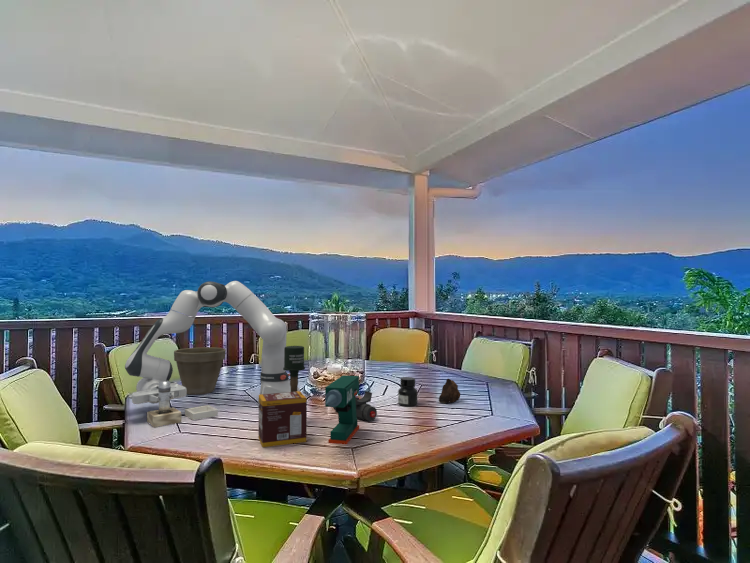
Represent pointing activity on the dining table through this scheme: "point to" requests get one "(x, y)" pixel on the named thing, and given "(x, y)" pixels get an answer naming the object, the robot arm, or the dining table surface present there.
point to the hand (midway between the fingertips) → (165, 398)
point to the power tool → (343, 407)
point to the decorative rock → (449, 392)
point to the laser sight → (365, 408)
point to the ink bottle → (407, 392)
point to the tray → (201, 412)
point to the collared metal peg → (164, 397)
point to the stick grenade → (294, 363)
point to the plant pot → (199, 368)
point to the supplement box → (282, 418)
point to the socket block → (163, 417)
